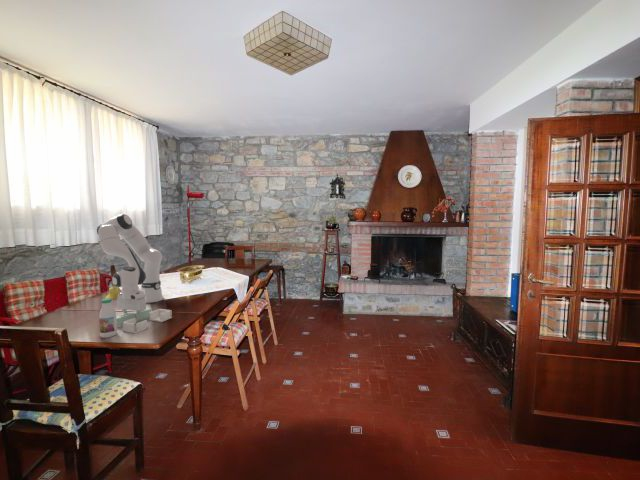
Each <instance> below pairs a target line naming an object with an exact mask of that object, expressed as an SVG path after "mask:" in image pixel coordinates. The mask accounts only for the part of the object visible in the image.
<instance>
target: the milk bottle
mask: <svg viewBox="0 0 640 480" xmlns="http://www.w3.org/2000/svg"><path fill="white" fill-rule="evenodd" d="M100 302H101V309H100V311H99V315H98V323H99V336H100V338H103V339H105V338H112V337H115V336H116V335H118V327H117V320H116V317H117V312H116V310H115V308H114V307H113V305H112V303H113V299H111V298H106V299H105V298H103V299H101V301H100Z"/></svg>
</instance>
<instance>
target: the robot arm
mask: <svg viewBox="0 0 640 480" xmlns="http://www.w3.org/2000/svg"><path fill="white" fill-rule="evenodd" d="M96 232H97V235H98V240H99V245H100V247H101V249H102V251H103V252H104V254H107V255H109V256H113V257H118V258H122V259H123V260H125V261H126V262H127V264H128V266H125V267H122V269H121V270H120V271H117V272H116V273H114V274H113V276H111V285H112V284H113V285H114V286H115V287H119V288H121V292H120V293H119V295H118V298H116V307H117V308H118V309H121V311H122V312H123V315H125V314H128V313H129V312H128V311H133V312H136V313H137V314H136V315H135V317H136V318H139V317H140V313H141V311H144V310H145V309H147V304H150V303H157V302H160V301H162V300H164V295H163V291H162V287H161V283H162V282H161V280H160V279H161V277H160V268H161V263H162V260H163V254H162V252H160V250H158V249H156V248H153V247H152V245H150V244H149V242H148V240H147V238H146V237H145V236H144V235H143V233H142V232H141V231H140V230H139V229H138V228H137V227H136V226H135V225H134V224H133V220H132V218H130V216H129V215H127V214H125V213H121V214H118V215H116V216H113V217H111V218H108V220H106V221H104V222H103V223H101V224H100V225H98V226H97V227H96ZM121 237H122V239H123V240H124V241H125V243H127V245H129V247H128V246H127V245H125V244H124V243H123V241H122V239H121ZM130 248H131V249H132V250H133V251H132V250H131V249H130ZM133 252H134V253H135V254H136V256H137V257H138V258H139V260H140V261H141V262H143V263H144V265H143V268H142V267H141V265H140V263H139V262H138V260H137V258H136V257H135V254H134V253H133ZM139 285H141V287H140V286H139ZM139 287H140V288H139ZM127 310H128V311H127Z"/></svg>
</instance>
